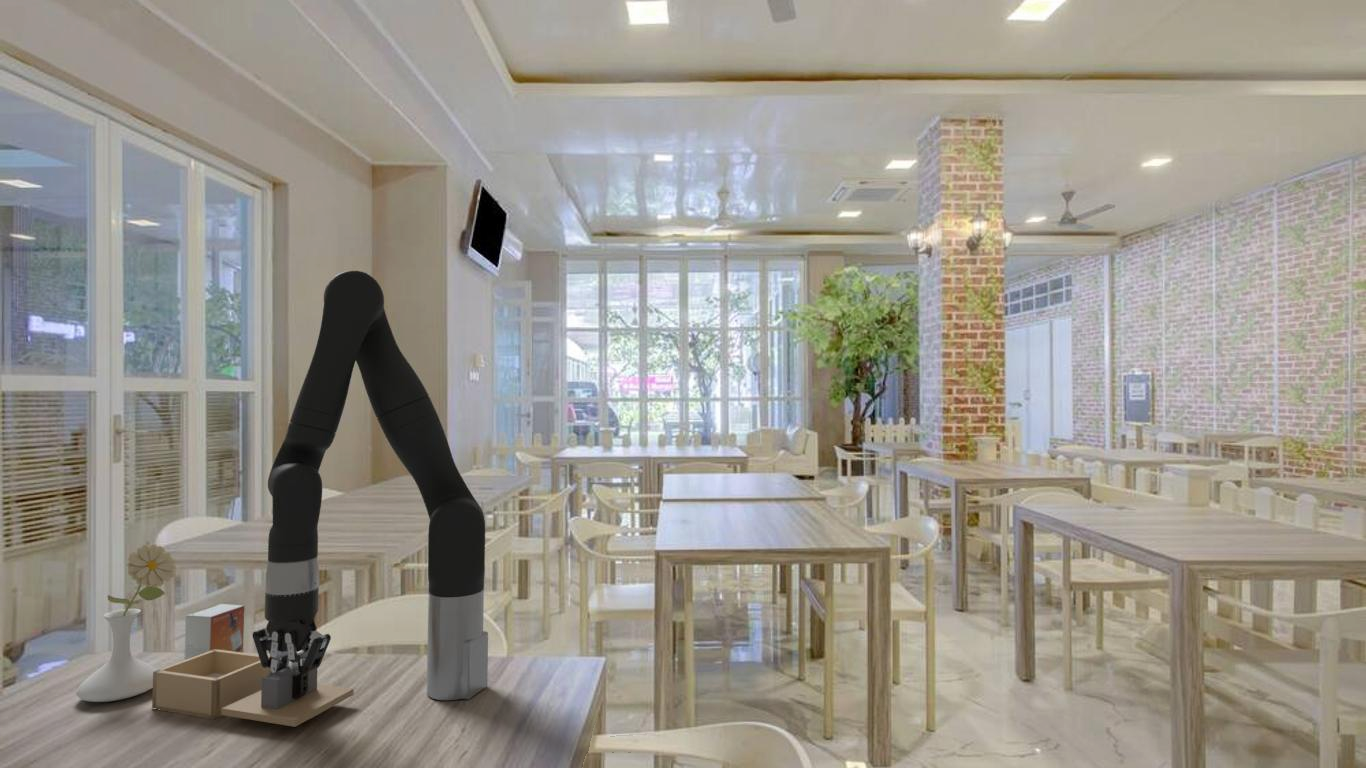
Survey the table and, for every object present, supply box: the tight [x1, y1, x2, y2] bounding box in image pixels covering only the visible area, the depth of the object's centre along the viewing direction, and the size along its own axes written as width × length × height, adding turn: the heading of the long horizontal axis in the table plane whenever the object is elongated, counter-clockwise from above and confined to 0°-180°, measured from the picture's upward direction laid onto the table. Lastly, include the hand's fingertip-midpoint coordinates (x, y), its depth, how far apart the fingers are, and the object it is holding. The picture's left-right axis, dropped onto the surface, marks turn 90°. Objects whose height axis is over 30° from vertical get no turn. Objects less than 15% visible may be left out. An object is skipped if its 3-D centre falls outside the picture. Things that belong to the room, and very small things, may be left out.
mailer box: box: [151, 649, 272, 720], centre depth 118 cm, size 13×11×6 cm
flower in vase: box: [75, 543, 177, 703], centre depth 121 cm, size 13×11×25 cm
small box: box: [184, 603, 245, 660], centre depth 133 cm, size 8×6×10 cm
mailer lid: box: [221, 659, 355, 727], centre depth 112 cm, size 14×12×6 cm
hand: (290, 695), depth 112 cm, fingers closed on mailer lid, 3 cm apart
